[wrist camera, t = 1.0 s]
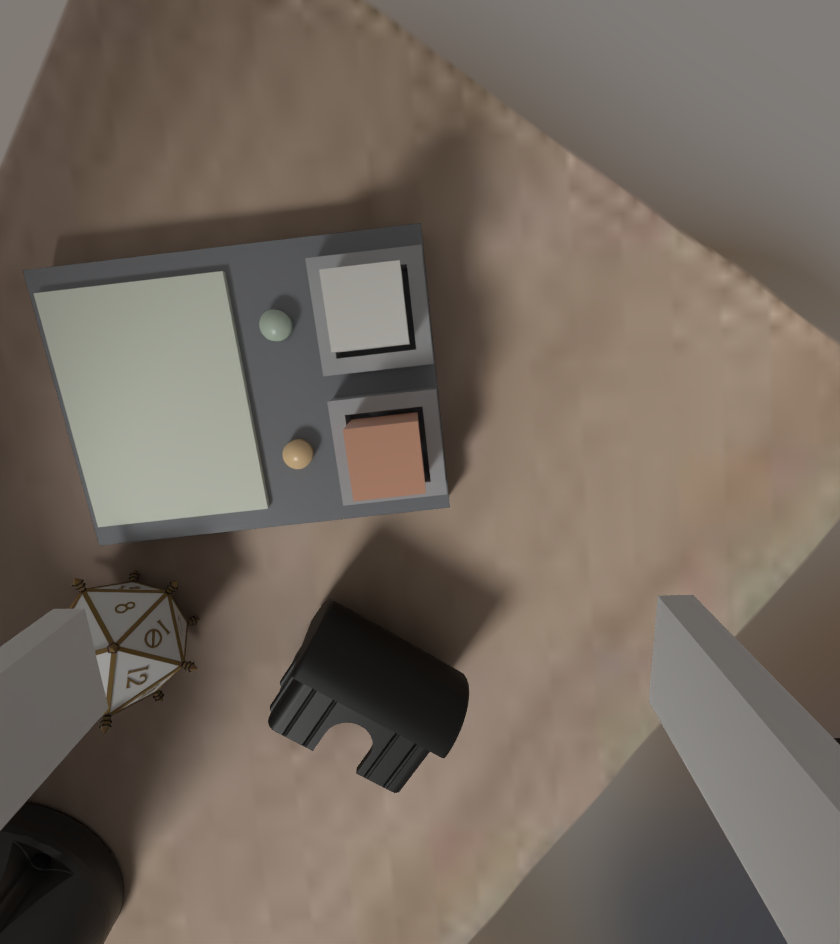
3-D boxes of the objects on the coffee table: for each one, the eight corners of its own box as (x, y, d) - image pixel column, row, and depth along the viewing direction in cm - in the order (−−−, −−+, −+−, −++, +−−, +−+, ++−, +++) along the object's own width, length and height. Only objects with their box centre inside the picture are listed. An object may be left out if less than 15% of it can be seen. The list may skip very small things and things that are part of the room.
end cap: (465, 649, 35) (476, 720, 28) (409, 725, 36) (407, 809, 29) (337, 576, 33) (318, 633, 27) (284, 658, 35) (254, 731, 28)
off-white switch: (342, 352, 26) (331, 352, 23) (331, 280, 25) (319, 269, 22) (409, 344, 26) (409, 343, 23) (401, 272, 25) (399, 259, 22)
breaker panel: (118, 533, 32) (77, 559, 28) (49, 275, 29) (-9, 264, 25) (447, 497, 32) (452, 518, 28) (420, 231, 28) (421, 212, 24)
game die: (153, 589, 37) (-20, 631, 29) (202, 529, 33) (15, 559, 25) (197, 704, 34) (20, 785, 26) (256, 655, 30) (67, 733, 22)
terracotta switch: (360, 482, 28) (353, 501, 24) (351, 419, 27) (342, 429, 24) (424, 475, 28) (426, 493, 24) (417, 411, 27) (417, 420, 23)
